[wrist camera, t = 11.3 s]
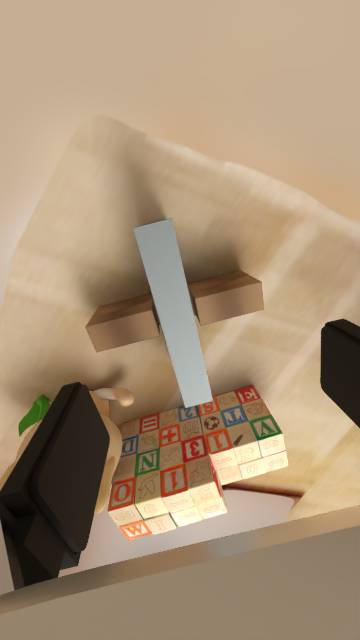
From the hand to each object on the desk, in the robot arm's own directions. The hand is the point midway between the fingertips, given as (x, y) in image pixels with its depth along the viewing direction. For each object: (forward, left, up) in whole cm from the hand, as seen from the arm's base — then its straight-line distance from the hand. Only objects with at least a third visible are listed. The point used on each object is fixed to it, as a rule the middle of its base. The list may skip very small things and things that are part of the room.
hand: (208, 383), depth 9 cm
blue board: (+1, +3, -21) cm, 21 cm away
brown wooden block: (+1, +3, -21) cm, 21 cm away
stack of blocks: (+2, +23, -21) cm, 31 cm away
